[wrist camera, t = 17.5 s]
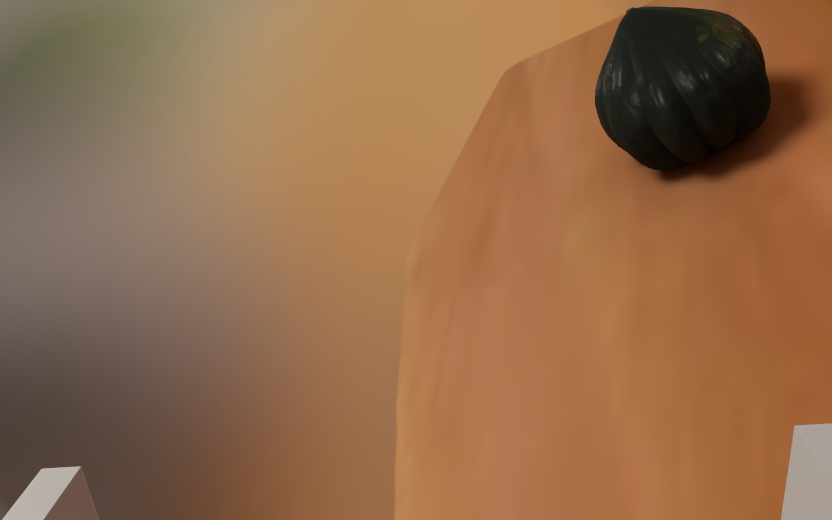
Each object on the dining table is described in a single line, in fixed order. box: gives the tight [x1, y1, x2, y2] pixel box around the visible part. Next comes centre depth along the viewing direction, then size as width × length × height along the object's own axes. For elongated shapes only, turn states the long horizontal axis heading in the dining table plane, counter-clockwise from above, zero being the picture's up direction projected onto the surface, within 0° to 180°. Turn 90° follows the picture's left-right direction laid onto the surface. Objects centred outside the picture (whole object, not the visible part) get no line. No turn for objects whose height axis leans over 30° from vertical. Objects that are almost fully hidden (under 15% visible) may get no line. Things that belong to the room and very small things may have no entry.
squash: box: [595, 7, 771, 170], centre depth 65 cm, size 14×15×15 cm
